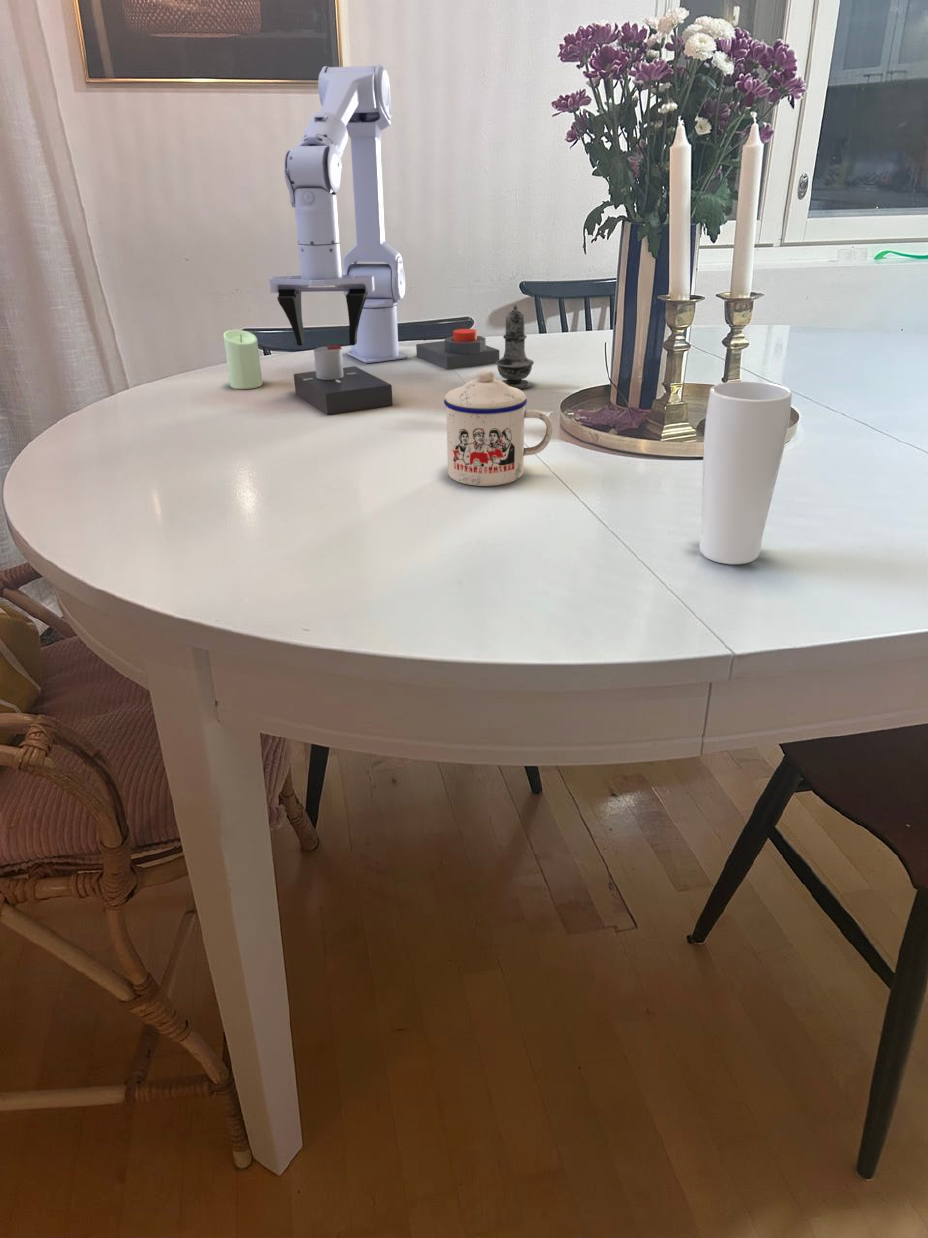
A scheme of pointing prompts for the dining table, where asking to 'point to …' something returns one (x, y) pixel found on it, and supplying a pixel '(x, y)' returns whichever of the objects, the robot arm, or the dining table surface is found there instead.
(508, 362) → the salt shaker
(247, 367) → the candle
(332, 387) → the panel
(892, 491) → the dining table surface
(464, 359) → the grey button base
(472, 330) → the power button
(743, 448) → the drinking glass
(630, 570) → the dining table surface
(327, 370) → the knob
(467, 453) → the teacup with lid
